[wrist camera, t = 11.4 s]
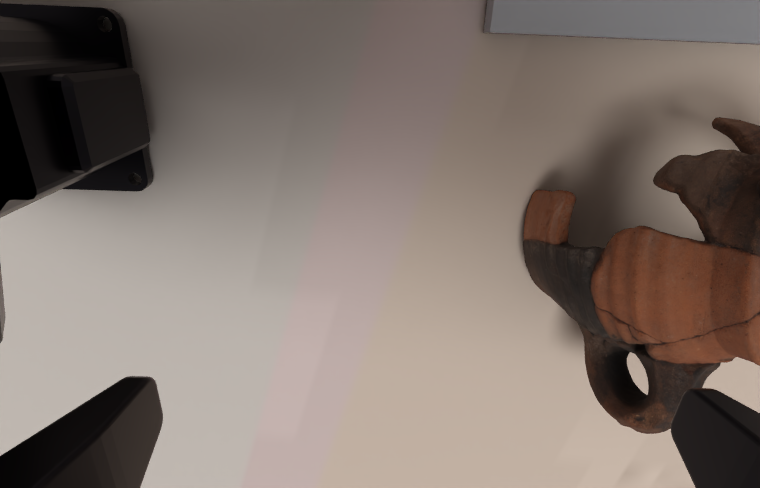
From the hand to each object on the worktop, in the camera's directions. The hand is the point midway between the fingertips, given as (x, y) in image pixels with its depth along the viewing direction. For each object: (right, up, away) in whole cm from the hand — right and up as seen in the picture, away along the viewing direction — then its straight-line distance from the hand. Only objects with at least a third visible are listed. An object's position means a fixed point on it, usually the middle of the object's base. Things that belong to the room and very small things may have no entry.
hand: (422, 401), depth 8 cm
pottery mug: (+10, +3, +12) cm, 16 cm away
